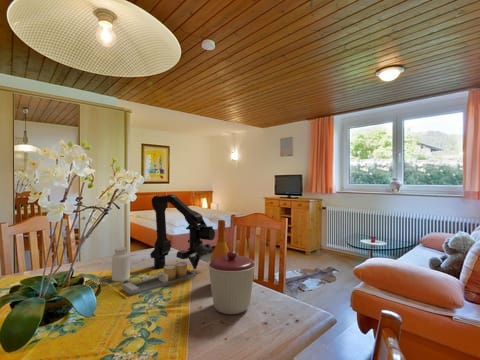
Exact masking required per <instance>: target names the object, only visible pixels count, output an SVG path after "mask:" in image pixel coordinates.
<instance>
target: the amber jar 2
mask: <svg viewBox="0 0 480 360" xmlns="http://www.w3.org/2000/svg"><path fill="white" fill-rule="evenodd" d="M174 265H175V266H176V278H177V279H178V278H181V277H185V276H187V270H188V263H187V262H186V261H178V262H175V264H174Z"/></svg>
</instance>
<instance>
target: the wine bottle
mask: <svg viewBox="0 0 480 360" xmlns="http://www.w3.org/2000/svg"><path fill="white" fill-rule="evenodd" d="M217 230H218V237H217V241H216V245H215V246H214V249H213V250H212V254H211V258H210V261H211V260H213V259H214V258H217V257H220V256H227V253H228V252H229V251H230V249H229V246H228V245H227V241H226V236H225V234H226V233H225V231H226V220H225V219H219V220H218V221H217Z"/></svg>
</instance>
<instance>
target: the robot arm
mask: <svg viewBox="0 0 480 360" xmlns="http://www.w3.org/2000/svg"><path fill="white" fill-rule="evenodd" d="M169 203H170V205H171V206H173V207H174V208H175V209H176V210H177V211H178V212H179V213H180V214H182V216H184V219H185V221H186V222H187V224H188V225H187V226H186V227H185V230H189V236H188V237H189V239H188V240H187V243H188V244H189V246H188V247H187V250H184V249H183V250H178V251H177V253H176V258H177V259H180V260H186V259H188V260H189V261H190V264H191V266H192V268H193V269H194V270H196V269H197V267H198V264H199V261H200V259H201V258H202V257H204V256H207V255H208V254H211V253H212V254H213V247H212V246H211V244H210V243H207V244H203V240H205V241H206V240H207V241H213V240H214V239H215V236H216V232H215V230H214V228H213V227H214V226H213V225H211V226H210V225H207V224H206V221H205V220H204V219H203V215H202V214H201V213H199V212H198V211H196V210H193V209H191V208H190V207H189V206H188V205H187V204H186V203H185V202H183V201H182V200H181V199H180V198H179V197H178V196H177V195H176V194H167V195H154V196H153V197H152V198H151V207H152V209H153V210H154V212H155V224H156V226H155V227H156V241H155V242H154V249H153V250H152V252H151V251H150V254H149V256H150V259H153V265H152V266H151V269H153V270H161V269H164V266H165V265H166V256H168V255H169V252H170V251H171V248H172V242H171V241H172V240H171V239H168V237H167V224H166V223H167V221H166V210H167V207H168V204H169Z"/></svg>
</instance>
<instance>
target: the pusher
mask: <svg viewBox="0 0 480 360" xmlns="http://www.w3.org/2000/svg"><path fill="white" fill-rule="evenodd" d="M155 278H159V280H160V281H162V282H164V283H165V282H168V275H167V274H165V273H164V271H159V272H158V275H154V276H150V277H147V278H143V279H141V281H140V282H144V281H148V280H152V279H155Z"/></svg>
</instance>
